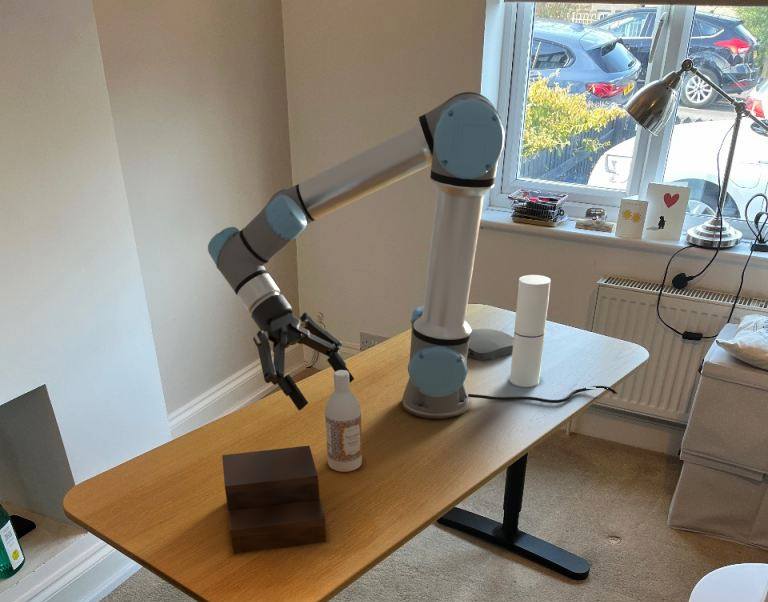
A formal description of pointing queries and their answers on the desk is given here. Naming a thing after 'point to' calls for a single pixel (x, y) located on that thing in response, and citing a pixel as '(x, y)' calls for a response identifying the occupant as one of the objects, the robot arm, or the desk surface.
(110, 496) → the desk surface
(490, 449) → the desk surface
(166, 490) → the desk surface
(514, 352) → the cylindrical container
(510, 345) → the media streaming box
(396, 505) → the desk surface
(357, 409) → the bath foam
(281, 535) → the stepped brown block
